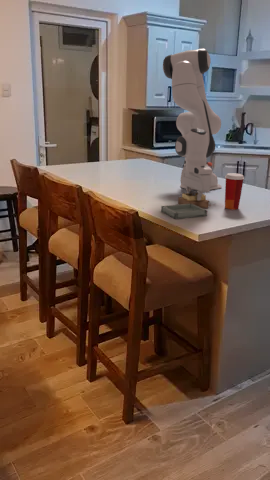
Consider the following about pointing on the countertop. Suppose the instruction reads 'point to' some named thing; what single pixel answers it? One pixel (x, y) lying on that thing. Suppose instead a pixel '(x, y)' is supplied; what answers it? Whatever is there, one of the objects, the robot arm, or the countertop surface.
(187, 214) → the tray
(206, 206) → the stake base
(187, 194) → the ring
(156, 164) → the countertop surface
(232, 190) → the coffee cup
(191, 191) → the stake
